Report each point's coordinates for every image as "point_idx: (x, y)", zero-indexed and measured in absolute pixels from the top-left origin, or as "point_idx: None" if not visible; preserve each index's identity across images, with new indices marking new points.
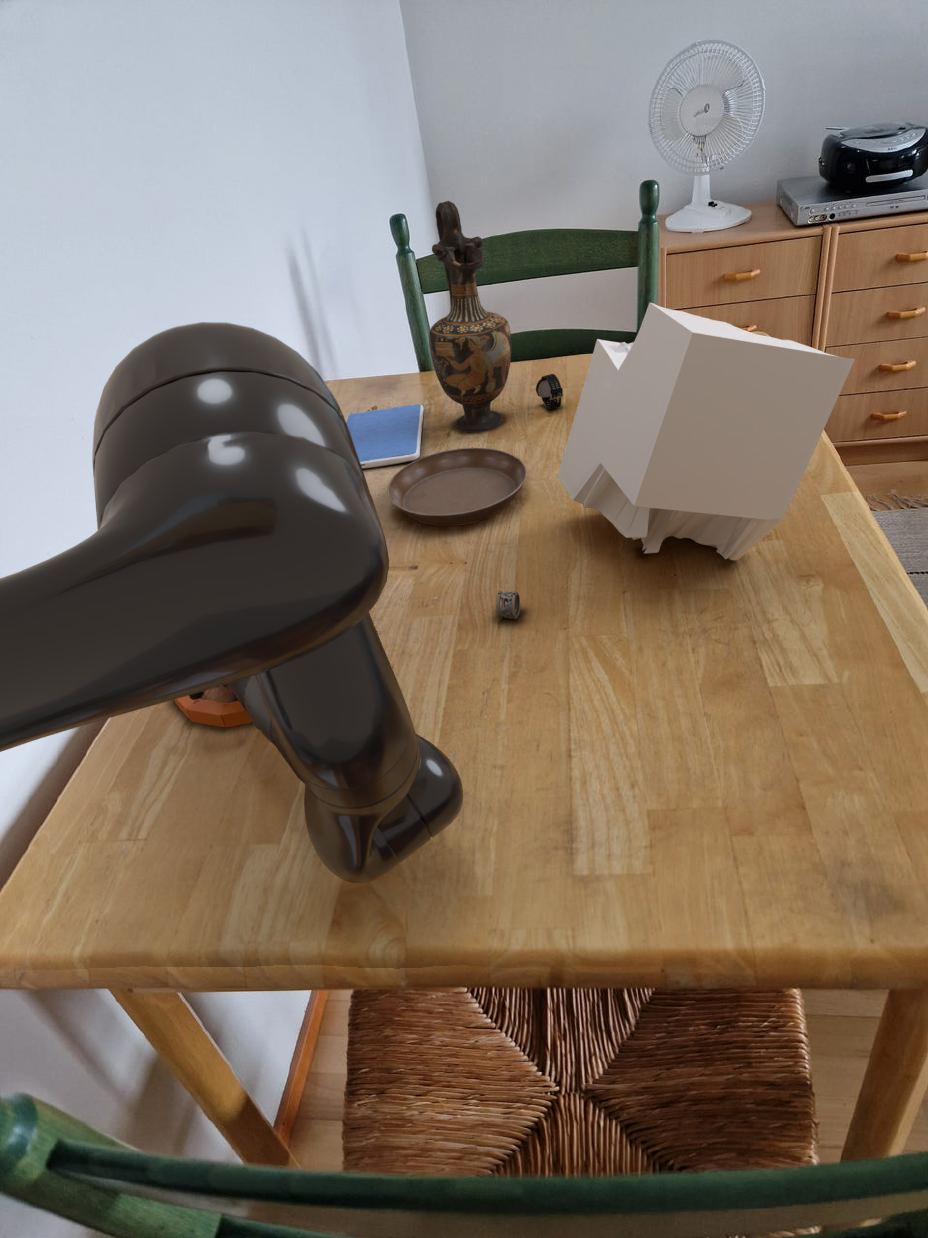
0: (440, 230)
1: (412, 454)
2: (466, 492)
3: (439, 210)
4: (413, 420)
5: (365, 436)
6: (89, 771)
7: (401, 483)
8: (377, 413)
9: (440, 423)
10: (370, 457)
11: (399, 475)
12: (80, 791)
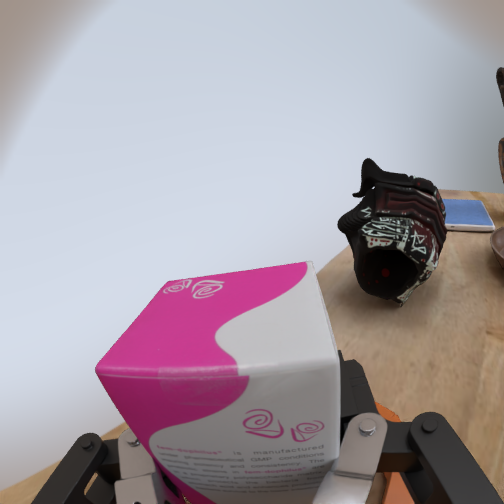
0: (499, 85)
1: (491, 225)
2: None
3: (500, 70)
4: (480, 207)
5: (449, 210)
6: (35, 477)
7: (495, 243)
8: (453, 200)
9: (496, 214)
10: (458, 222)
11: (495, 235)
12: (16, 490)
